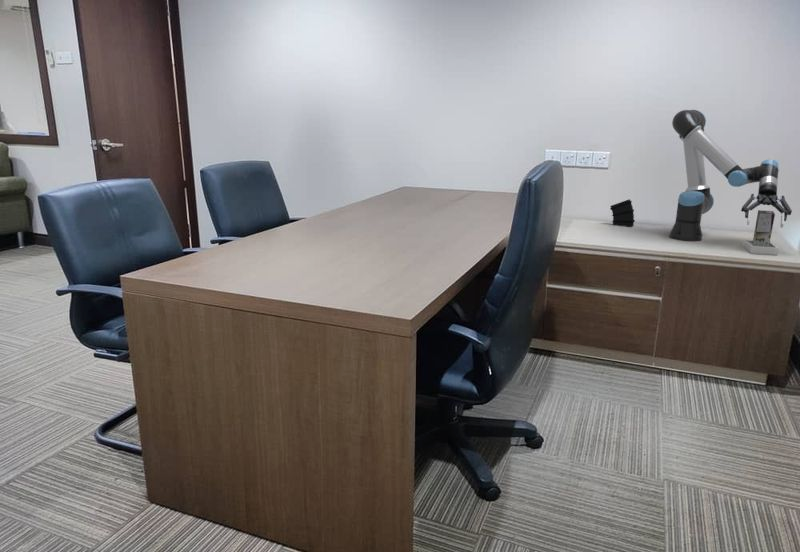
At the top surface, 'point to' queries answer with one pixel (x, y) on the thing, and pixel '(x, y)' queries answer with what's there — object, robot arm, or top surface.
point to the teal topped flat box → (760, 248)
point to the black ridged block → (623, 214)
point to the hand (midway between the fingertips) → (765, 224)
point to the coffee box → (763, 228)
